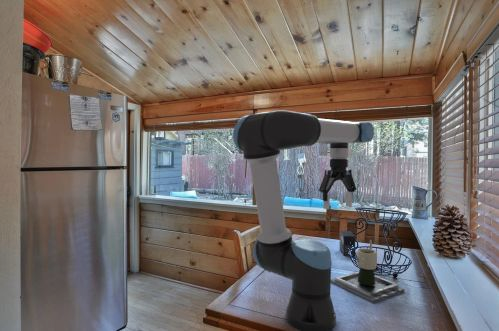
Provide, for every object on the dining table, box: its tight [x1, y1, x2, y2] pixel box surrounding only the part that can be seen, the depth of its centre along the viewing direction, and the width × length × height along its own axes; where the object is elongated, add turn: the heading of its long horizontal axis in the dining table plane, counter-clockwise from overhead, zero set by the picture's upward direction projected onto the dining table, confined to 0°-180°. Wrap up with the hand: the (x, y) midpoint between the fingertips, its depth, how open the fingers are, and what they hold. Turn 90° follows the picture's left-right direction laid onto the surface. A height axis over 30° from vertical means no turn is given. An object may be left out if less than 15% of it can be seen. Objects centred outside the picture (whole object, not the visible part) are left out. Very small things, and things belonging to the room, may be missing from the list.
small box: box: [339, 230, 356, 257], centre depth 157 cm, size 11×6×10 cm, turn 175°
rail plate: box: [331, 271, 405, 304], centre depth 115 cm, size 18×20×2 cm
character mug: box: [356, 247, 378, 285], centre depth 115 cm, size 11×7×13 cm, turn 142°
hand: (337, 207), depth 128 cm, fingers open, 13 cm apart
